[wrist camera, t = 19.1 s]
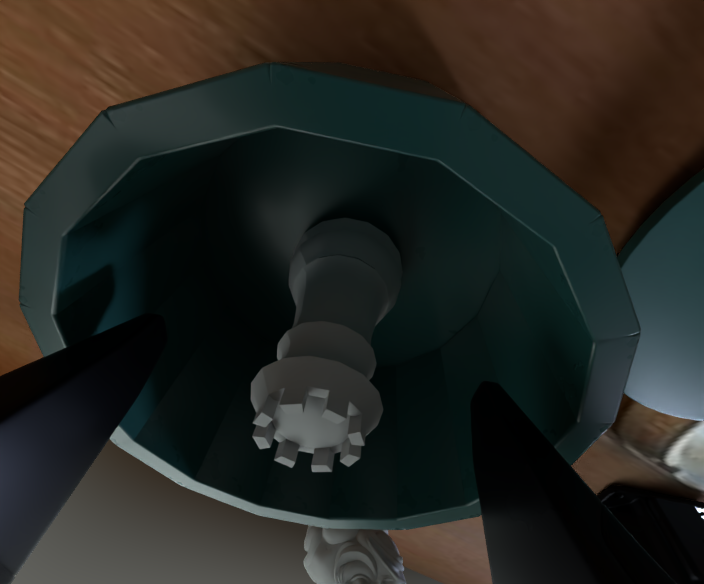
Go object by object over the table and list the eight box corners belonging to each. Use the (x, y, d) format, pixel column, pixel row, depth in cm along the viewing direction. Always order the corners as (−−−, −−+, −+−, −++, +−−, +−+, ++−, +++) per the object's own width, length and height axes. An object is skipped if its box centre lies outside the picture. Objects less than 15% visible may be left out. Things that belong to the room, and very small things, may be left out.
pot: (593, 115, 11) (858, 186, 5) (450, 392, 18) (478, 558, 12) (169, 25, 11) (-142, -26, 4) (202, 342, 18) (103, 485, 12)
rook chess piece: (273, 262, 14) (172, 429, 8) (345, 188, 12) (291, 330, 6) (349, 324, 16) (318, 510, 9) (425, 267, 14) (454, 453, 7)
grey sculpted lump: (418, 504, 25) (426, 633, 20) (338, 516, 28) (323, 635, 22) (382, 460, 23) (378, 595, 17) (296, 478, 25) (267, 602, 19)
